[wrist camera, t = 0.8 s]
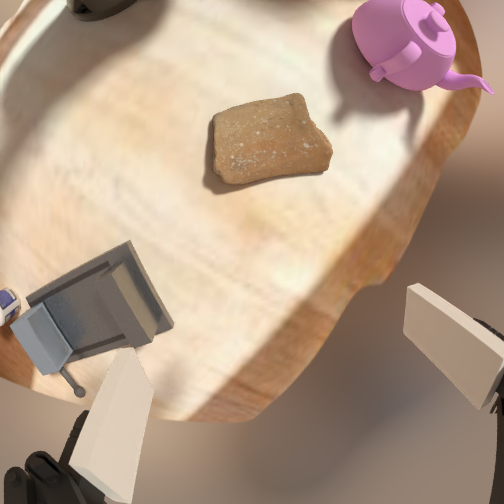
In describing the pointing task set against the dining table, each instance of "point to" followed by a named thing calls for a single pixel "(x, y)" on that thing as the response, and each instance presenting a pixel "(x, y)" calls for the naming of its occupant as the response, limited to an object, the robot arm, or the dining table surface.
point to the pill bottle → (8, 304)
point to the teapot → (409, 45)
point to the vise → (105, 304)
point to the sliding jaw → (44, 343)
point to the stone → (268, 141)
